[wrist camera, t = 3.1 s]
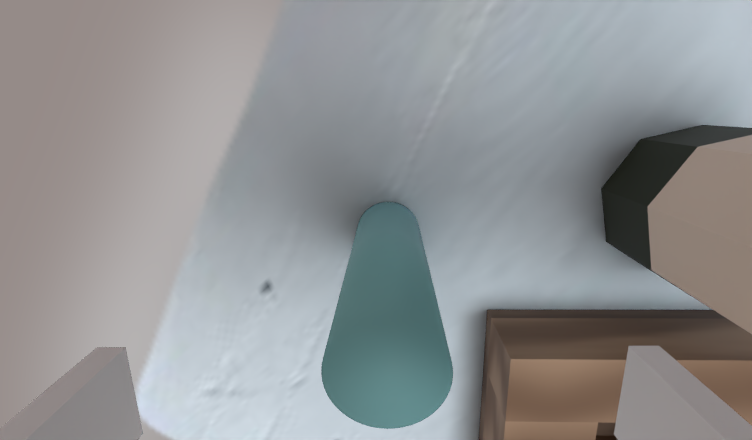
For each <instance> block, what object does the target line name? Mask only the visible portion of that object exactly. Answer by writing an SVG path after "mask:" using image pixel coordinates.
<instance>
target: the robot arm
mask: <svg viewBox="0 0 752 440" xmlns="http://www.w3.org/2000/svg"><path fill="white" fill-rule="evenodd" d="M142 434H143V431H142V426H141V421H140V416H139V411H138V406H137V401H136V397H135V392H134V387H133V382H132V377H131V372H130V367H129V362H128V357H127V352H126V347H97V348H96V349H94V350H93V351H92V352H91V353H90V354H89V355H87V356H86V357H85V358H84V359H82V360H81V361H80V362H79V363H78V364H76V365H75V366H74V367H73V368H72V369H70V370H69V371H68V372H67V373H66V374H64V375H63V376H62V377H61V378H60V379H58V380H57V381H56V382H55V383H54V384H53V385H51V386H50V387H49V388H48V389H46V390H45V391H44V392H43V393H42V394H40V395H39V396H38V397H37V398H36V399H34V400H33V401H32V402H31V403H30V404H28V405H27V406H26V407H25V408H24V409H22V410H21V411H20V412H19V413H18V414H16V415H15V416H14V417H13V418H12V419H10V420H9V421H8V422H7V423H6V424H5V425H3V426H2V427H1V428H0V440H138V439H139V438H140V436H141V435H142ZM614 435H615V437H616V438H617V439H618V440H752V425H750V424H749V423H748V422H747V421H746V420H745V419H743V418H742V417H741V416H740V415H739V414H738V413H737V412H735V411H734V410H733V409H732V408H731V407H730V406H728V405H727V404H726V403H725V402H724V401H723V400H721V399H720V398H719V397H718V396H717V395H716V394H714V393H713V392H712V391H711V390H710V389H709V388H708V387H706V386H705V385H704V384H703V383H702V382H701V381H699V380H698V379H697V378H696V377H695V376H694V375H692V374H691V373H690V372H689V371H688V370H687V369H685V368H684V367H683V366H682V365H681V364H680V363H679V362H677V361H676V360H675V359H674V358H673V357H672V356H670V355H669V354H668V353H667V352H666V351H665V350H663V349H662V348H661V347H660V346H629V347H628V353H627V359H626V365H625V371H624V377H623V383H622V388H621V394H620V400H619V406H618V412H617V418H616V424H615V430H614Z"/></svg>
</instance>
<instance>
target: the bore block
mask: <svg viewBox="0 0 752 440" xmlns="http://www.w3.org/2000/svg"><path fill="white" fill-rule="evenodd" d="M629 346H660V347H661V348H662V349H663V350H665V351H666V352H667V353H668V354H669V355H670V356H672V357H673V358H674V359H675V360H676V361H677V362H679V363H680V364H681V365H682V366H683V367H684V368H685V369H687V370H688V371H689V372H690V373H691V374H692V375H694V376H695V377H696V378H697V379H698V380H699V381H701V382H702V383H703V384H704V385H705V386H706V387H708V388H709V389H710V390H711V391H712V392H713V393H714V394H716V395H717V396H718V397H719V398H720V399H721V400H723V401H724V402H725V403H726V404H727V405H728V406H730V407H731V408H732V409H733V410H734V411H735V412H737V413H738V414H739V415H740V416H741V417H742V418H743V419H745V420H746V421H747V422H748V423H749V424H750V425H752V334H751V333H749V332H747V331H746V330H744V329H743V328H741V327H739V326H738V325H736V324H735V323H733V322H732V321H730V320H728V319H727V318H725V317H724V316H722V315H721V314H719V313H717V312H716V311H714V310H487V322H486V337H485V352H484V368H483V383H482V398H481V414H480V429H479V440H618V439H617V438H616V437H615V435H614V430H615V424H616V418H617V412H618V406H619V400H620V394H621V388H622V383H623V377H624V371H625V365H626V359H627V353H628V347H629Z"/></svg>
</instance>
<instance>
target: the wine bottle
mask: <svg viewBox="0 0 752 440" xmlns="http://www.w3.org/2000/svg"><path fill="white" fill-rule="evenodd" d="M602 199H603V210H604V221H605V232H606V242H607V243H609V244H611V245H612V246H614V247H615V248H617V249H618V250H620V251H621V252H623V253H624V254H626V255H628V256H629V257H631V258H632V259H634V260H635V261H637V262H638V263H640V264H642V265H643V266H645V267H646V268H648V269H649V270H651V271H652V272H654V273H656V274H657V275H659V276H660V277H662V278H664V279H665V280H667V281H668V282H670V283H671V284H673V285H675V286H676V287H678V288H679V289H681V290H683V291H684V292H686V293H687V294H689V295H690V296H692V297H694V298H695V299H697V300H698V301H700V302H702V303H703V304H705V305H706V306H708V307H709V308H711V309H713V310H714V311H716V312H717V313H719V314H721V315H722V316H724V317H725V318H727V319H728V320H730V321H732V322H733V323H735V324H736V325H738V326H739V327H741V328H743V329H744V330H746V331H747V332H749V333H751V334H752V128H741V127H725V126H709V125H702V126H697V127H693V128H688V129H684V130H679V131H675V132H670V133H666V134H662V135H657V136H653V137H648V138H644V139H641V140H640V141H639V142H638V143H637V145H636V146H635V147H634V149H633V150H632V151H631V152H630V154H629V155H628V156H627V157H626V159H625V160H624V161H623V162H622V164H621V165H620V166H619V167H618V169H617V170H616V171H615V172H614V174H613V175H612V176H611V177H610V179H609V180H608V181H607V182H606V184H605V185H604V186H603V188H602Z"/></svg>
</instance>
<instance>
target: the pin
mask: <svg viewBox="0 0 752 440" xmlns="http://www.w3.org/2000/svg"><path fill="white" fill-rule="evenodd" d="M452 378H453V367H452V362H451V357H450V353H449V349H448V345H447V341H446V337H445V332H444V328H443V324H442V320H441V316H440V312H439V308H438V303H437V299H436V295H435V291H434V287H433V283H432V279H431V275H430V270H429V266H428V262H427V258H426V254H425V250H424V246H423V241H422V237H421V233H420V229H419V225H418V222H417V219H416V217H415V216H414V214H413V213H412V212H411V211H410V210H409V209H408V208H406V207H405V206H403V205H401V204H398V203H394V202H382V203H378V204H376V205H374V206H372V207H370V208H369V209H368V210H367V211H366V212H365V213H364V214H363V215H362V217H361V219H360V221H359V224H358V227H357V231H356V235H355V239H354V243H353V246H352V250H351V254H350V258H349V262H348V265H347V269H346V273H345V277H344V281H343V285H342V288H341V292H340V296H339V300H338V304H337V307H336V311H335V315H334V319H333V323H332V326H331V330H330V334H329V338H328V342H327V345H326V349H325V353H324V357H323V361H322V381H323V385H324V388H325V390H326V393H327V395H328V397H329V398H330V400H331V401H332V403H333V404H334V405H335V406H336V407H337V408H338V409H339V410H340V411H341V412H342V413H343V414H345V415H346V416H348V417H349V418H351V419H353V420H354V421H356V422H359V423H361V424H364V425H367V426H371V427H376V428H387V429H388V428H400V427H405V426H409V425H412V424H415V423H418V422H420V421H422V420H424V419H425V418H427V417H428V416H430V415H431V414H433V413H434V412H435V411H436V410H437V409H438V408H439V407H440V406H441V404H442V403H443V402H444V400H445V399H446V397H447V395H448V393H449V391H450V388H451V384H452Z"/></svg>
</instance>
